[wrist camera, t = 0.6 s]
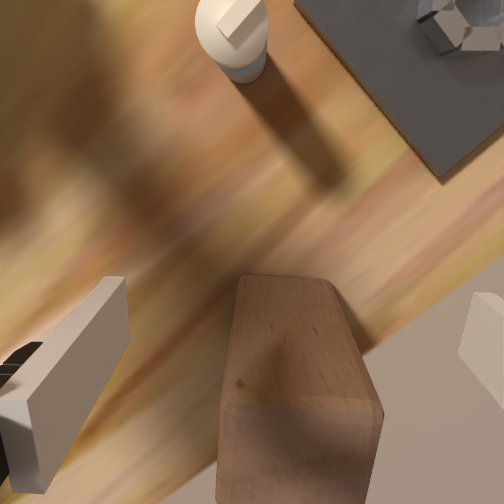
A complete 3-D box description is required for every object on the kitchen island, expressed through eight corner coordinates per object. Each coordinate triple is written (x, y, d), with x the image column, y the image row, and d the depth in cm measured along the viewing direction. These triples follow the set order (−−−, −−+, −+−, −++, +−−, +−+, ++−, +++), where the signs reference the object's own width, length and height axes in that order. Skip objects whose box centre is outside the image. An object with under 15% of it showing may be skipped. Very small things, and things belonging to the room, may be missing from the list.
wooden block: (238, 269, 41) (218, 400, 22) (332, 276, 41) (392, 413, 22) (233, 350, 44) (213, 523, 26) (320, 356, 44) (364, 534, 26)
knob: (243, 93, 35) (231, 79, 21) (211, 58, 34) (177, 20, 21) (276, 58, 34) (285, 19, 20) (244, 22, 33) (231, -45, 20)
